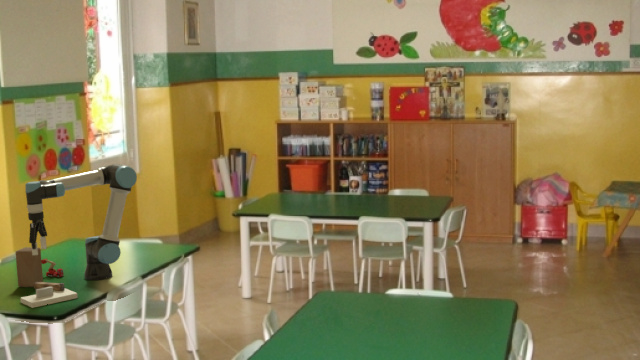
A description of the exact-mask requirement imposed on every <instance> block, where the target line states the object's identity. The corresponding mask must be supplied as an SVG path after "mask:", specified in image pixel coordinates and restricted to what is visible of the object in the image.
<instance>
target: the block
mask: <svg viewBox="0 0 640 360" xmlns="http://www.w3.org/2000/svg"><path fill="white" fill-rule="evenodd" d="M37 248H38V255H32V247H27V246H26V247H23V248H20V249H19V250H16V251H15V260H16V261H15V262H16V274H17V286H18V287H19V288H34V283H36V282H44V277H43V276H44V275H43V264H42V261H41V260H42V249H41V247H37Z"/></svg>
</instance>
